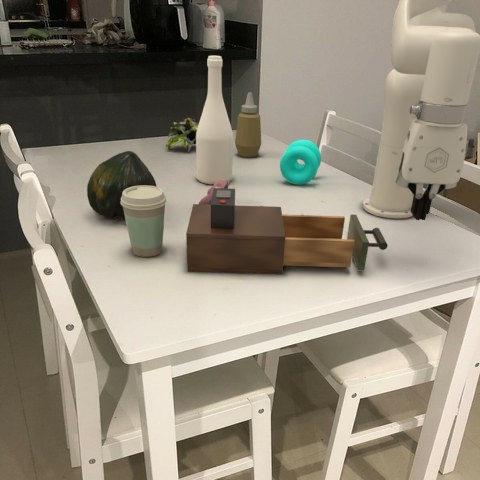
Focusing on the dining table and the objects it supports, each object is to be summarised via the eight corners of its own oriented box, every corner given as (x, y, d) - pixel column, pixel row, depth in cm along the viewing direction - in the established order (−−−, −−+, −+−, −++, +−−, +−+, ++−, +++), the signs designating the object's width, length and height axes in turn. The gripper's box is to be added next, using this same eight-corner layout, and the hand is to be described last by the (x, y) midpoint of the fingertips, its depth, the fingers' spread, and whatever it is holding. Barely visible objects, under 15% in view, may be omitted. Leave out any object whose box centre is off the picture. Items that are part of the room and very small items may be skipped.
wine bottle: (237, 183, 141) (240, 58, 125) (203, 187, 138) (202, 59, 122) (224, 173, 148) (226, 53, 132) (192, 176, 145) (189, 54, 129)
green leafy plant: (190, 163, 174) (210, 131, 171) (192, 166, 164) (214, 132, 161) (160, 142, 170) (180, 109, 167) (161, 145, 160) (182, 109, 157)
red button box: (234, 210, 104) (235, 187, 102) (233, 228, 97) (234, 204, 94) (213, 209, 104) (213, 186, 102) (210, 227, 97) (210, 203, 94)
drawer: (373, 241, 110) (378, 215, 107) (388, 271, 99) (393, 243, 95) (272, 238, 110) (274, 211, 107) (275, 268, 98) (277, 239, 95)
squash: (69, 186, 120) (89, 144, 108) (126, 175, 129) (149, 135, 117) (98, 240, 118) (121, 203, 106) (153, 225, 127) (179, 190, 116)
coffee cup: (148, 238, 110) (144, 181, 104) (177, 250, 106) (175, 191, 99) (116, 251, 105) (109, 191, 98) (145, 264, 100) (141, 203, 94)
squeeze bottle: (231, 152, 166) (232, 90, 157) (255, 151, 169) (258, 89, 159) (239, 159, 160) (240, 95, 150) (264, 158, 162) (267, 94, 152)
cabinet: (278, 241, 111) (281, 206, 107) (282, 274, 98) (285, 236, 94) (193, 239, 111) (193, 203, 106) (187, 271, 98) (186, 233, 94)
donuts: (277, 184, 142) (280, 146, 136) (284, 173, 150) (286, 136, 145) (315, 188, 140) (319, 149, 135) (319, 176, 148) (323, 140, 143)
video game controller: (212, 217, 125) (226, 193, 121) (195, 207, 124) (208, 182, 120) (222, 203, 133) (235, 179, 129) (206, 193, 132) (219, 169, 128)
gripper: (402, 116, 86) (383, 223, 96) (493, 119, 87) (465, 226, 96) (391, 108, 93) (374, 209, 102) (476, 111, 93) (451, 212, 102)
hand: (418, 217), depth 99 cm, fingers closed
